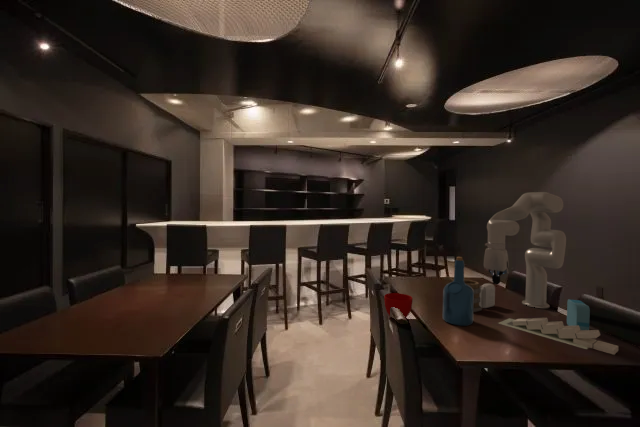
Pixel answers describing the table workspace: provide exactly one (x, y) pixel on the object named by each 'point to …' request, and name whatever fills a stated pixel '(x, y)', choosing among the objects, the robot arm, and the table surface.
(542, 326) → the domino
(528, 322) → the domino
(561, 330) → the domino
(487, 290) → the photo printer
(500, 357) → the table surface
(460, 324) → the wine bottle
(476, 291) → the tankard
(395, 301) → the ceramic cup
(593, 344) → the domino
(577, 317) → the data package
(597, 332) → the domino
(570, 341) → the domino mat
